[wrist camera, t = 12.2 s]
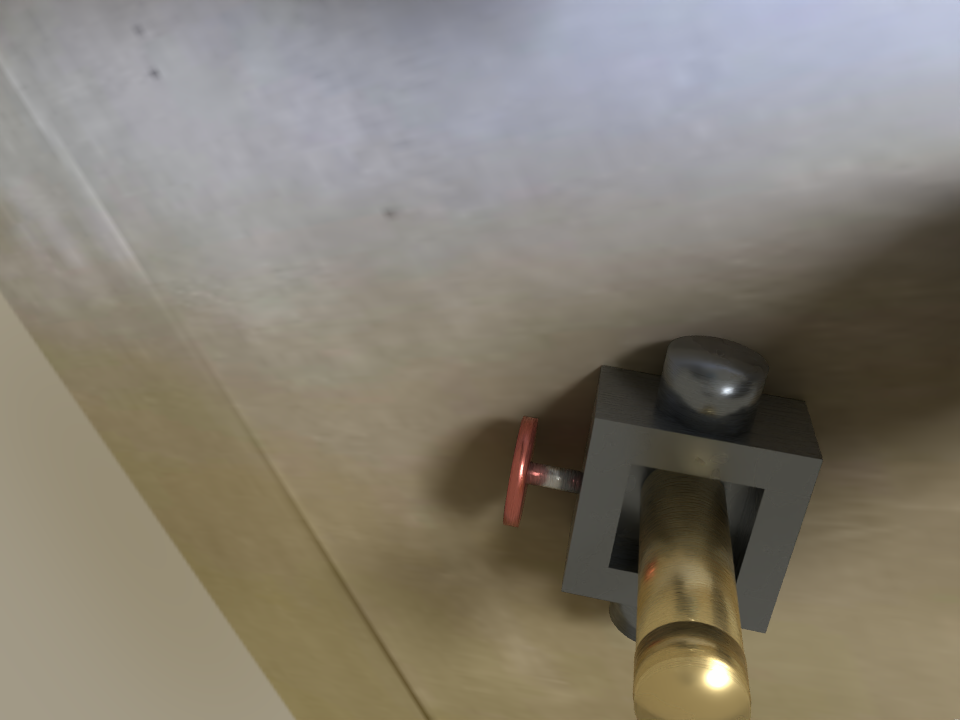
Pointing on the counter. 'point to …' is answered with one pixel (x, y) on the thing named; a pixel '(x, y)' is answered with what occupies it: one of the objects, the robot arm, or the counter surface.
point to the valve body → (682, 471)
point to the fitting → (687, 605)
